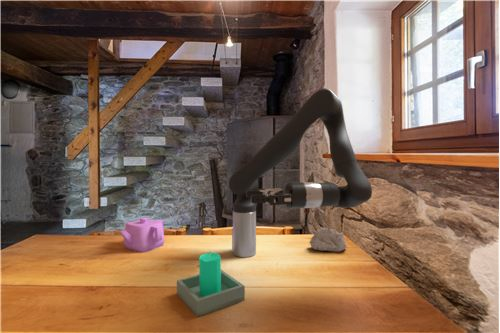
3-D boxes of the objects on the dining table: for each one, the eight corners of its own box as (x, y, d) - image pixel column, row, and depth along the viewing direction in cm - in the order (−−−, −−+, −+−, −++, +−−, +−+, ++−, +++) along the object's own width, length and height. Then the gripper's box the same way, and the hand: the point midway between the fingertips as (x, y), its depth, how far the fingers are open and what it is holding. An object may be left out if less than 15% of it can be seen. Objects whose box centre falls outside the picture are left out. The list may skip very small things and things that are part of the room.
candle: (204, 287, 84) (204, 247, 83) (224, 289, 82) (223, 248, 81) (195, 297, 78) (195, 254, 77) (216, 300, 76) (216, 256, 76)
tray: (177, 293, 82) (176, 280, 82) (219, 281, 90) (219, 268, 90) (197, 316, 70) (197, 301, 70) (244, 299, 78) (244, 285, 78)
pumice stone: (345, 247, 121) (345, 224, 120) (348, 254, 114) (349, 229, 113) (308, 246, 123) (309, 223, 123) (310, 252, 116) (310, 227, 115)
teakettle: (163, 251, 117) (162, 221, 117) (118, 254, 113) (117, 224, 113) (165, 238, 134) (164, 212, 133) (126, 241, 130) (126, 214, 129)
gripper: (295, 180, 90) (244, 181, 87) (312, 185, 76) (253, 186, 73) (295, 203, 90) (244, 205, 88) (312, 213, 76) (253, 215, 74)
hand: (248, 196), depth 80 cm, fingers open, 8 cm apart
